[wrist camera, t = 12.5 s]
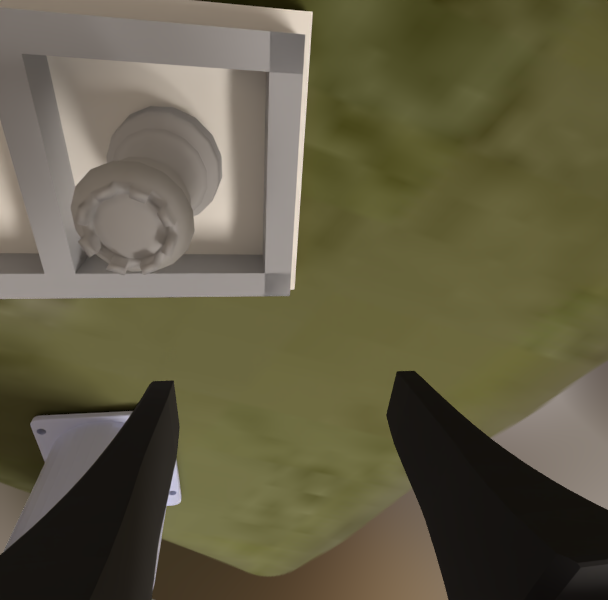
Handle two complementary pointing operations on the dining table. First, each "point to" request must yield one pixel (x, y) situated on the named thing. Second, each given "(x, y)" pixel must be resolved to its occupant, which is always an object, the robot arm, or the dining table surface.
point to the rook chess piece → (147, 191)
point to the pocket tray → (134, 97)
